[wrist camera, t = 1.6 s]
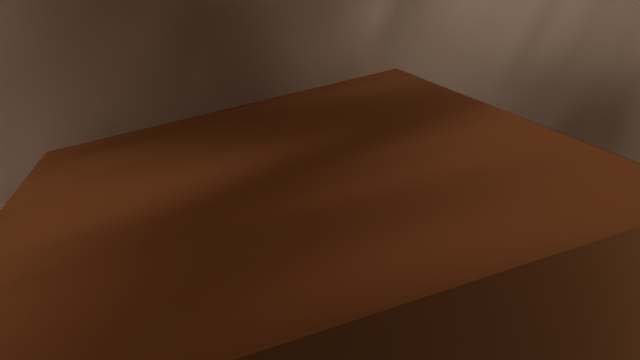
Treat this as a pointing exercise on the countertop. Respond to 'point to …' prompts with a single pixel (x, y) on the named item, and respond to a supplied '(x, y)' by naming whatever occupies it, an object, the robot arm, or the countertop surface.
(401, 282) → the walnut cube
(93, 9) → the countertop surface
